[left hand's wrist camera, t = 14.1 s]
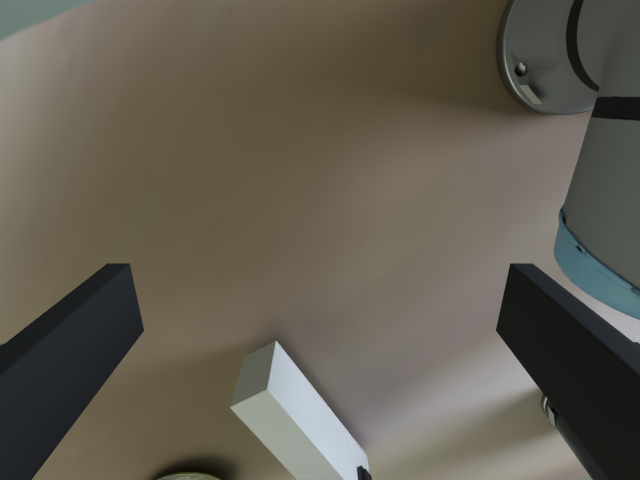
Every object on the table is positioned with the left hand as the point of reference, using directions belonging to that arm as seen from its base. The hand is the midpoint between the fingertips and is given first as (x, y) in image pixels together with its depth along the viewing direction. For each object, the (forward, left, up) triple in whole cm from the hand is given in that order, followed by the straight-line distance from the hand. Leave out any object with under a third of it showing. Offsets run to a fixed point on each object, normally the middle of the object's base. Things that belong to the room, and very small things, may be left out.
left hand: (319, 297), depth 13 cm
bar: (-8, +36, -30) cm, 48 cm away
